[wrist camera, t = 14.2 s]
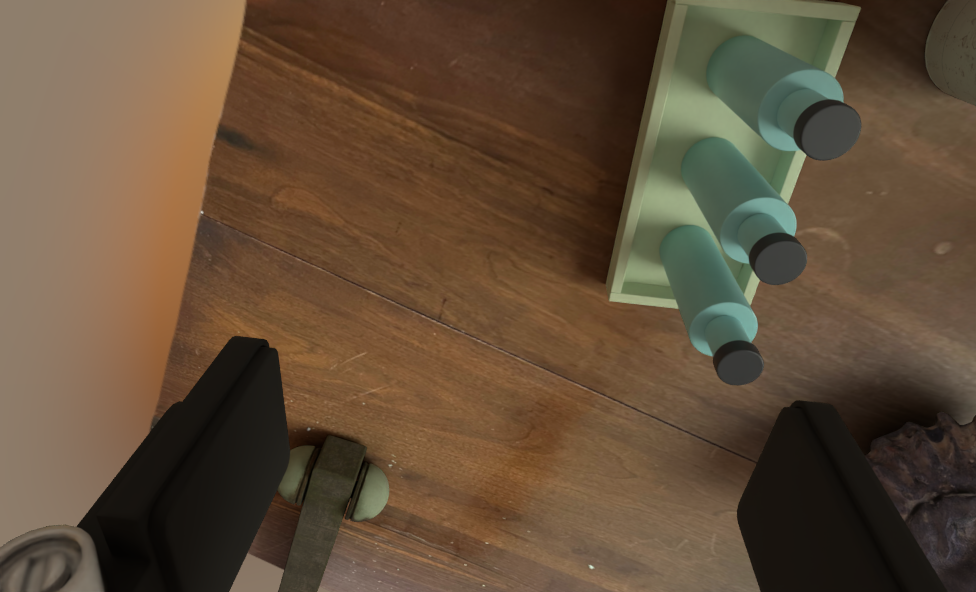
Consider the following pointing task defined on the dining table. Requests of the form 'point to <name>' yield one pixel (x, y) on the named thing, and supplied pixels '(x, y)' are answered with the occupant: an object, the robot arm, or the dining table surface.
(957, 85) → the thermos bottle
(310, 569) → the post
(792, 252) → the tray bottle
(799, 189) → the dining table surface
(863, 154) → the dining table surface
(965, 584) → the seashell
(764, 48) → the tray bottle
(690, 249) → the bottle
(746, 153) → the tray
